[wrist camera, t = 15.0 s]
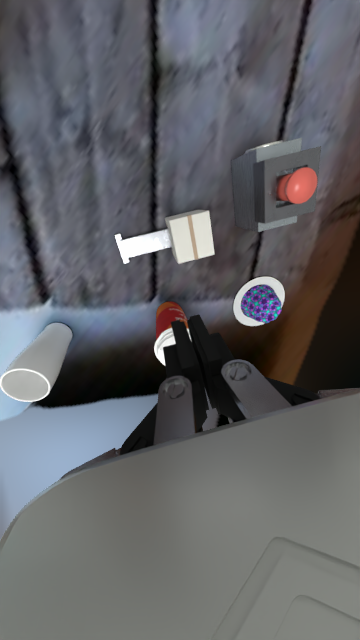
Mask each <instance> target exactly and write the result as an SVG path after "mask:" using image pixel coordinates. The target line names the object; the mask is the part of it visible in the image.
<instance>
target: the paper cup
mask: <svg viewBox="0 0 360 640" xmlns="http://www.w3.org/2000/svg"><path fill="white" fill-rule="evenodd" d="M176 320H180V322H182V321H184V323H185V325H186V328H187V331H188V334H189V337H190V333H189V328H188V324H187V318H186V316H185V314H184V312H183V310H182V309H181V307H180V306H179V305H178V304H177V303H175V302H165V303H163V304H161V305H160V306H159V307H158V309H157V313H156V343H155V347H154V351H155V355H156V357H157V358H158V359H159V360H160V362H161V363H162V364H164V365H165V359H164V352H163V347H165V346H169V345H173V344H176V343H175V339H174V334H173V330H172V326H171V322H172V321H176ZM190 339H191V337H190Z"/></svg>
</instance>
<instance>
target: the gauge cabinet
mask: <svg viewBox="0 0 360 640" xmlns="http://www.w3.org/2000/svg"><path fill="white" fill-rule="evenodd" d="M301 140H302V138H299V139H295V140H291V141H287V142H283V141H276V142H272V143H268V144H264V145H261V146H257V147H254V148H252V149H249V150H247V151H245V154H244V155H242V156H240V157H238V158H236V159H233V160H231V170H232V184H233V198H234V211H235V225H236V226H237V227H241V228H245V229H249V230H253V231H257V232H260V231H264V230H268V229H272V228H276V227H280V226H284V225H288V224H292V223H296V222H297V216H298V215H302V214H305V213H309V212H313V211H315V204H316V193H317V186H316V189H315V191H314V193H313V195H312V196H311V197H310V198H309V199H308V200H307V201H306V202H304V203H300V204H294V203H291V202H289V201H276V178H277V177H278V176H281V175H285V174H291V173H293V172H294V171H296V170H298V169H300V168H306V167H308V168H311V169H313V170H314V171H315V173H316V175H317V183H318V173H319V162H320V152H321V146H320V147H316V148H312V149H308V150H304V151H301Z"/></svg>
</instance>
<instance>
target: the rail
mask: <svg viewBox="0 0 360 640" xmlns="http://www.w3.org/2000/svg"><path fill="white" fill-rule="evenodd" d="M115 238H116V241H117V244H118V247H119V250H120V253H121V256H122V259H123V262H124V264H125V263H129V262H130V261H129V257H133V256H137V255H141V254H145V253H149V252H153V251H157V250H161V249H165V248H169V247H172V244H171V240H170V235H169V231H168V228H165V229H161V230H157V231H153V232H149V233H145V234H141V235H137V236H133V237H129V238H125V239H122V236H121V233H119V234H115Z"/></svg>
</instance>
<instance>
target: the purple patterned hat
mask: <svg viewBox="0 0 360 640" xmlns="http://www.w3.org/2000/svg"><path fill="white" fill-rule="evenodd" d="M259 284H266V285H262V286H261V287H260V286H258V285H259ZM256 285H257V286H256ZM268 285H269V286H271V287H272V288H273V289H274V290H271V288H270V287H269V286H268ZM253 286H254V287H253ZM251 287H252V288H251ZM250 288H251V290H250V291H249V292H247V291H248V290H249V289H250ZM274 291H275V292H274ZM243 295H244V296H243ZM242 297H243V302H242V303H241V300H242ZM284 298H285V292H284V288H283V286H282V284H281V283H280V282H279V281H278V280H276V279H275V278H272V277H258V278H255V279H253V280H251V281H249V282H248V283H246V284H245V285H244V286H243V287H242V288H241V289H240V291H239V292H238V293H237V295H236V297H235V300H234V305H233V310H234V314H235V316H236V318H237V319H238V321H240V322H241V323H242V324H245V325H248V326H257V325H261V324H264V323H269V322H270V321H273V320H275V319H276V318H277V316H278V315H279V314H280V313H281V310H282V309H281V307H282V305H283V302H284ZM240 304H241V307H240ZM241 309H242V310H244V314H245V315H244V314H243V313H242V311H241ZM247 316H248V317H247ZM249 317H250V318H249Z"/></svg>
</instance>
